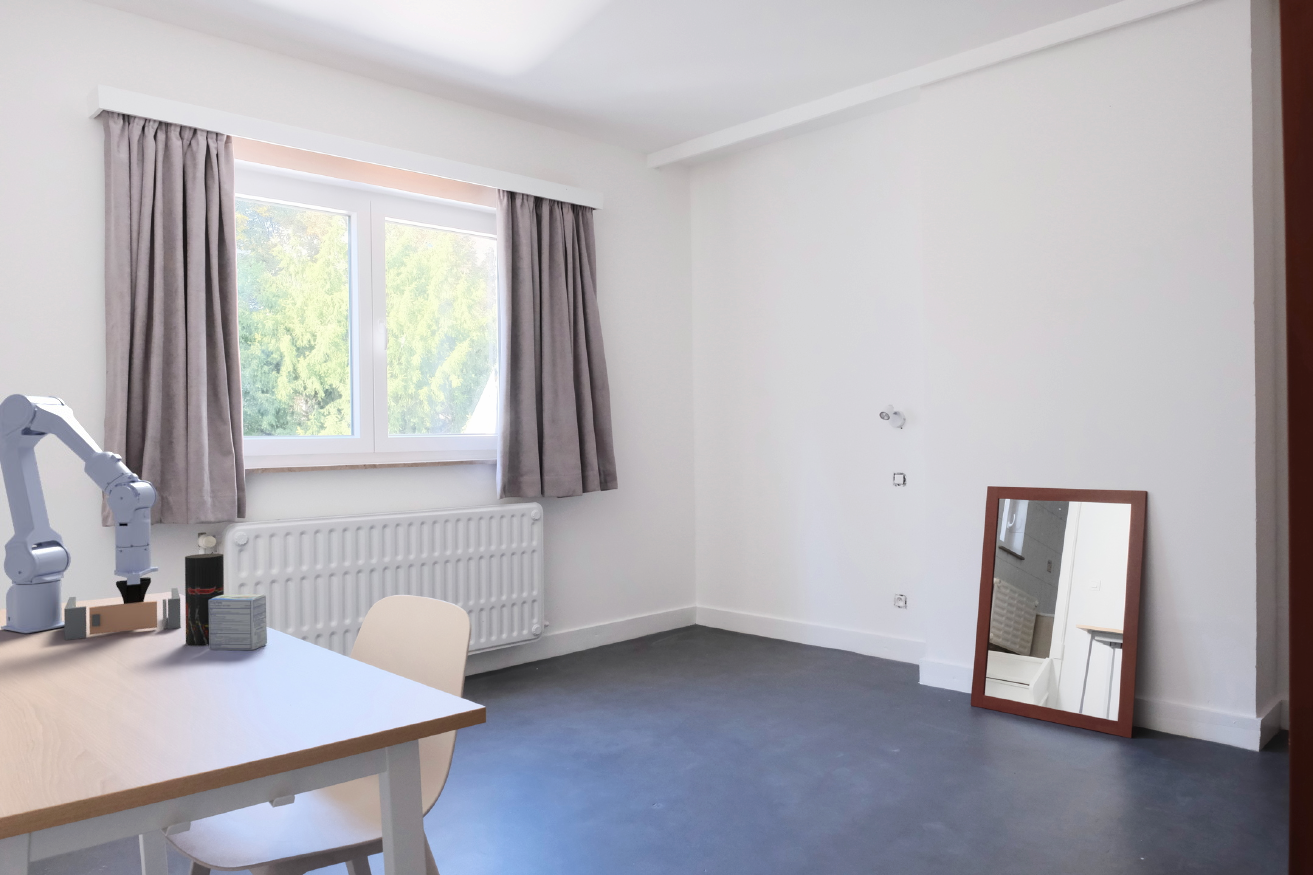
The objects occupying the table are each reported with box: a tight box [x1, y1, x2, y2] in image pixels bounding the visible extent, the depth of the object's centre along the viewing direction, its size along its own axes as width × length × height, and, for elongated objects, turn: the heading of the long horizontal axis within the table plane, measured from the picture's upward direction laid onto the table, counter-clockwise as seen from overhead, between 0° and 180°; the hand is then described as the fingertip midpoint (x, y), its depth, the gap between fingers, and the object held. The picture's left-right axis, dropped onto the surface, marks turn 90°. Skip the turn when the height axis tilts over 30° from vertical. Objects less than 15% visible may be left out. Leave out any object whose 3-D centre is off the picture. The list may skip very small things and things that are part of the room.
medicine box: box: [208, 593, 268, 651], centre depth 146 cm, size 8×4×9 cm, turn 84°
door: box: [88, 600, 158, 635], centre depth 158 cm, size 2×10×5 cm, turn 121°
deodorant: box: [184, 553, 225, 647], centre depth 150 cm, size 6×6×15 cm
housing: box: [63, 587, 181, 641], centre depth 163 cm, size 14×18×6 cm
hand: (134, 617), depth 162 cm, fingers closed
